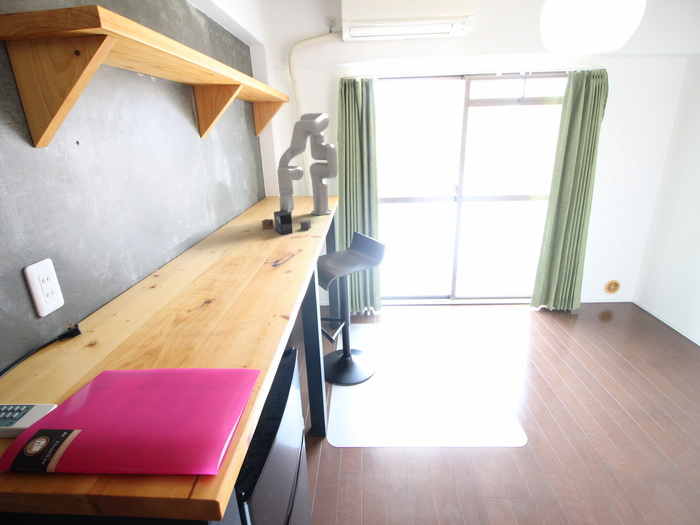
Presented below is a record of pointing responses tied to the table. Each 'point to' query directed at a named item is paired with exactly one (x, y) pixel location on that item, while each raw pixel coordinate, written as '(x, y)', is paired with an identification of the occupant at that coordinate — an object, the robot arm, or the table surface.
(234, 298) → the table surface
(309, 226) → the charcoal block
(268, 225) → the walnut block
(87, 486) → the table surface
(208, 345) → the table surface
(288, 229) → the small box
